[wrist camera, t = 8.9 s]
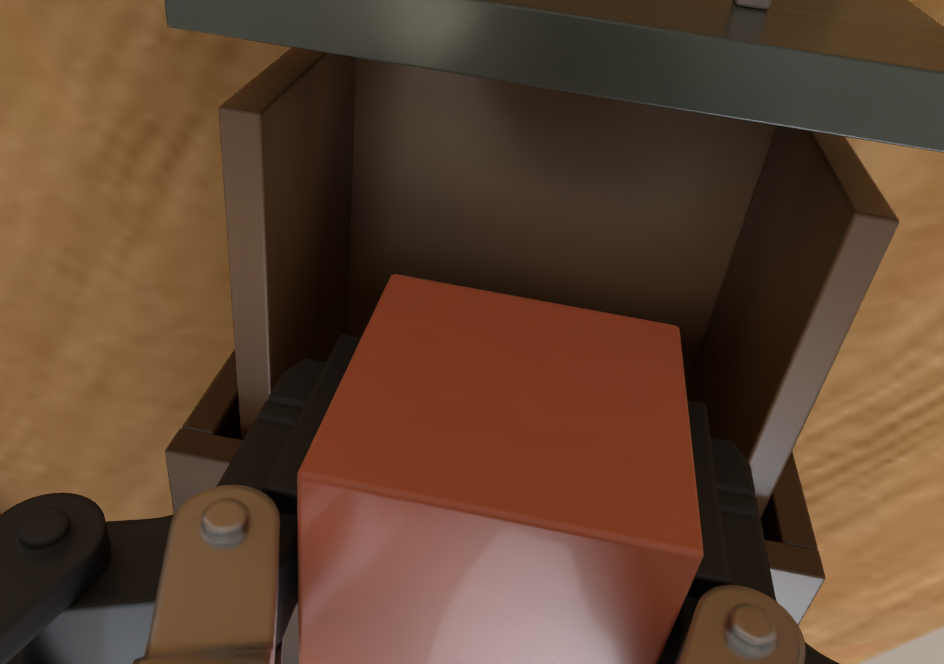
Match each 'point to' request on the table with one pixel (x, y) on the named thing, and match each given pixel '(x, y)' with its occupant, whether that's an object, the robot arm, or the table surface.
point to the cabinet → (201, 467)
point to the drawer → (575, 175)
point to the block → (498, 487)
